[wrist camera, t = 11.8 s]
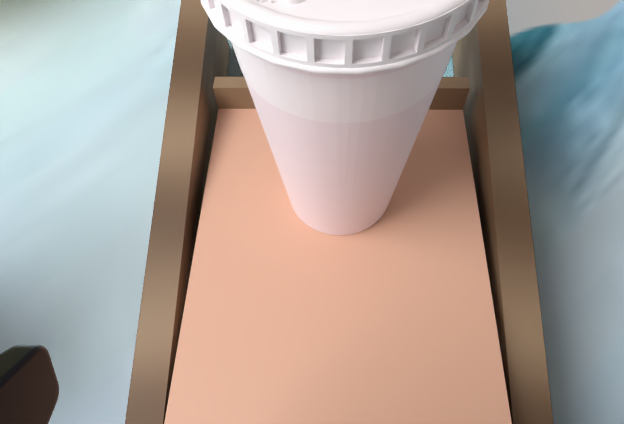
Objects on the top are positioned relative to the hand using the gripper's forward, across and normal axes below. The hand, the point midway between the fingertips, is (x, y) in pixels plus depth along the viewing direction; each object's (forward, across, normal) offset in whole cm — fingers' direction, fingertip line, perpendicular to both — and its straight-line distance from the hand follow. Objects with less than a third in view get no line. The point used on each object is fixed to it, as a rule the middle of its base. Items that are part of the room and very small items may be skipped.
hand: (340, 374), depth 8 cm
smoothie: (+11, 0, +2) cm, 12 cm away
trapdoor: (+10, 0, +7) cm, 13 cm away
